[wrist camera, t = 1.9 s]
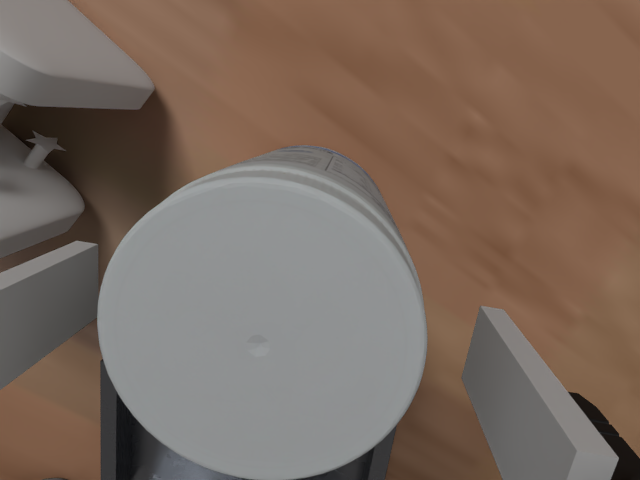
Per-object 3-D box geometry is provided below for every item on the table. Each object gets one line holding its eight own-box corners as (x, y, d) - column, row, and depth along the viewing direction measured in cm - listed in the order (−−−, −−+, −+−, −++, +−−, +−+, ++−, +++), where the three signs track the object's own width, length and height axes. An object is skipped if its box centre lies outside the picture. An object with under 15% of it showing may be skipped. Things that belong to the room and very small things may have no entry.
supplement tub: (296, 326, 28) (239, 541, 14) (196, 212, 26) (14, 322, 12) (422, 235, 26) (506, 380, 12) (320, 105, 24) (274, 88, 10)
